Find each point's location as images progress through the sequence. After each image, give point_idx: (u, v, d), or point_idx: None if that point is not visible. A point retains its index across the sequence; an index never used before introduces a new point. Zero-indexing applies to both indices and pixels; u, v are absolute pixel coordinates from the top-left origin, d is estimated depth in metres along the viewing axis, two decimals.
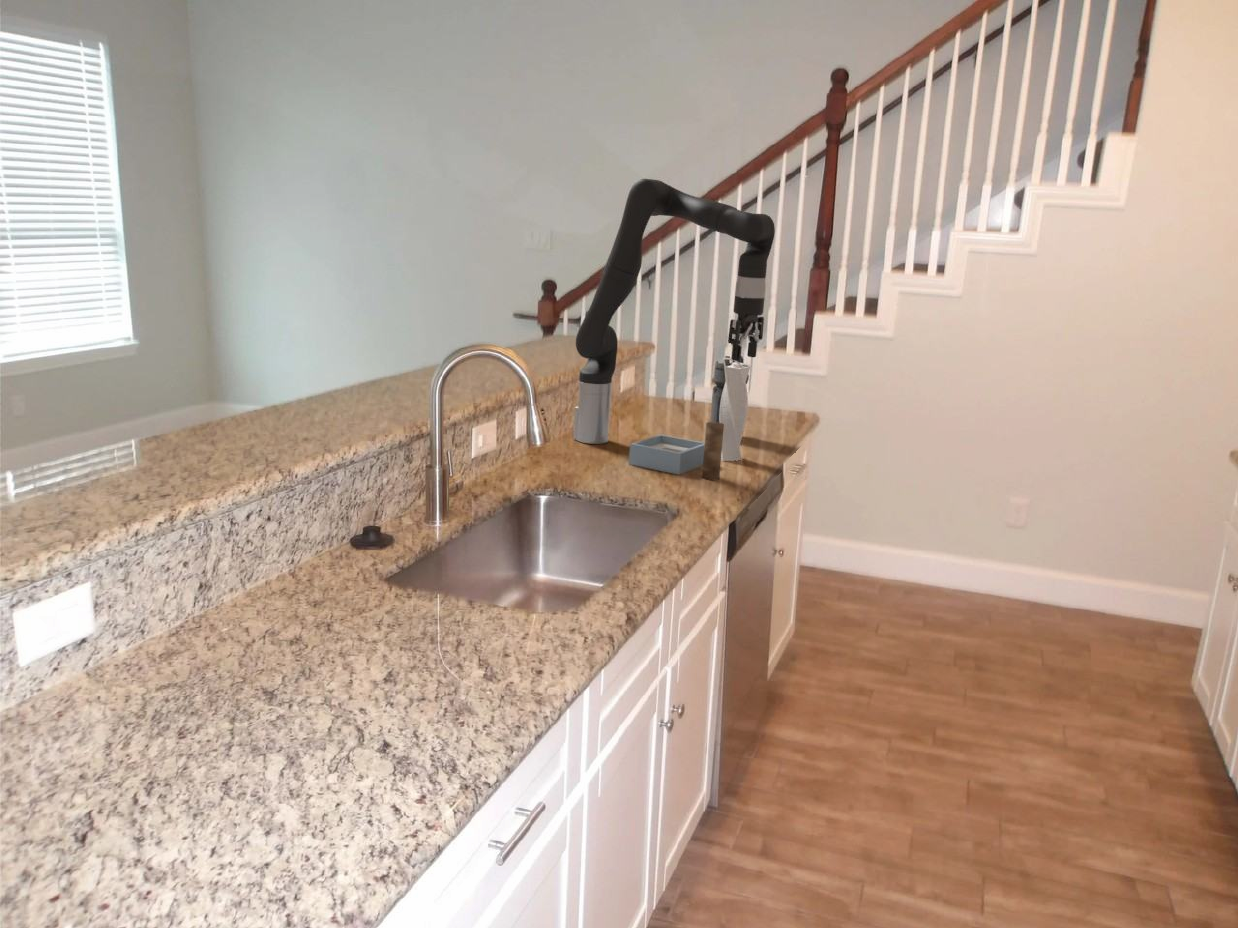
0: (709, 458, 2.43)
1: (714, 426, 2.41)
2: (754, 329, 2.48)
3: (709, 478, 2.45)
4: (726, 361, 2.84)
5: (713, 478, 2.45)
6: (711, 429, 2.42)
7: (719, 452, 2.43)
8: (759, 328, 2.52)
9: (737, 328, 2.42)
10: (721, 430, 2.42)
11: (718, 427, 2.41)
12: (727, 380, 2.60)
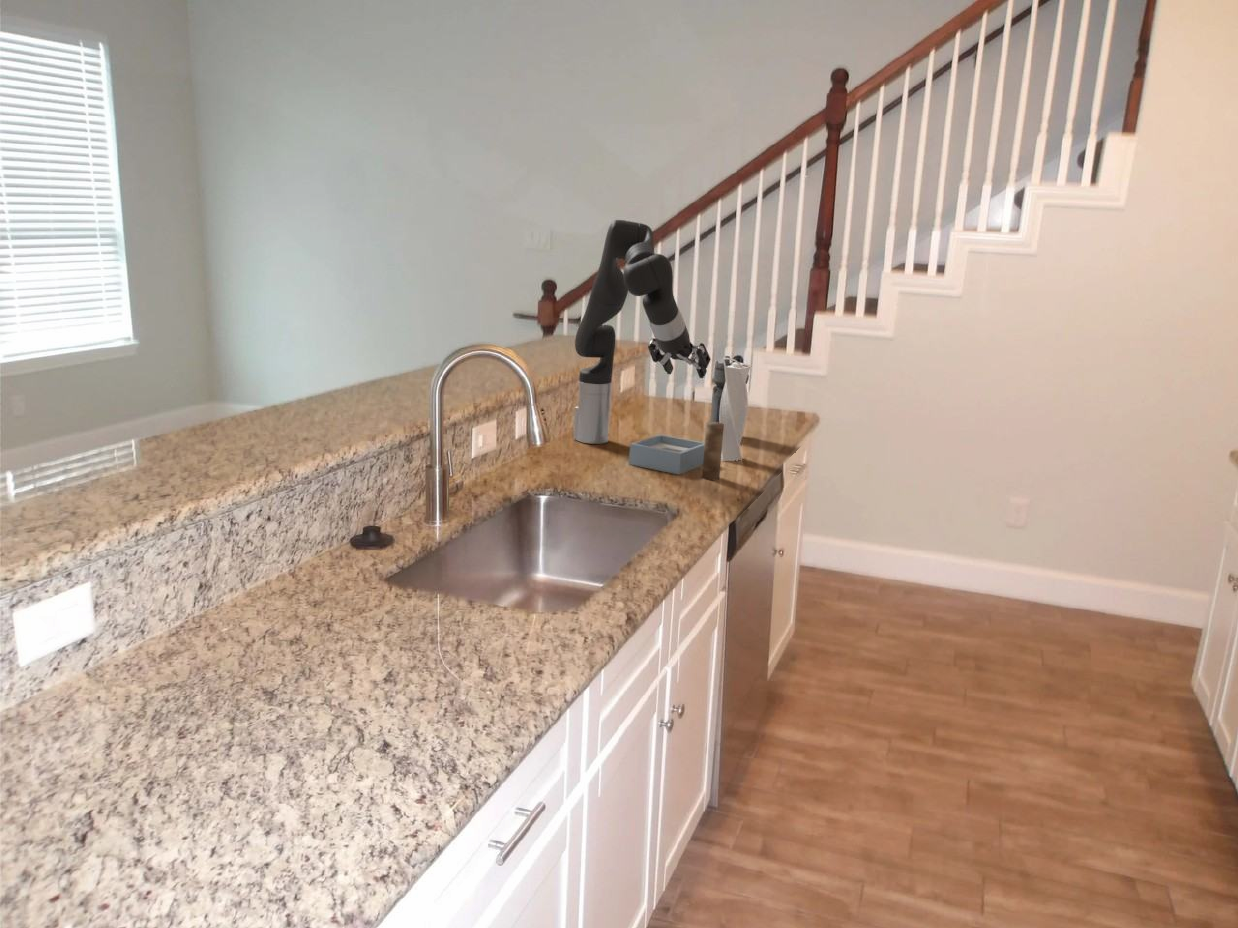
0: (709, 458, 2.43)
1: (714, 426, 2.41)
2: None
3: (709, 478, 2.45)
4: (726, 361, 2.85)
5: (713, 478, 2.45)
6: (711, 429, 2.42)
7: (719, 452, 2.43)
8: None
9: None
10: (721, 430, 2.42)
11: (718, 427, 2.41)
12: (727, 380, 2.60)
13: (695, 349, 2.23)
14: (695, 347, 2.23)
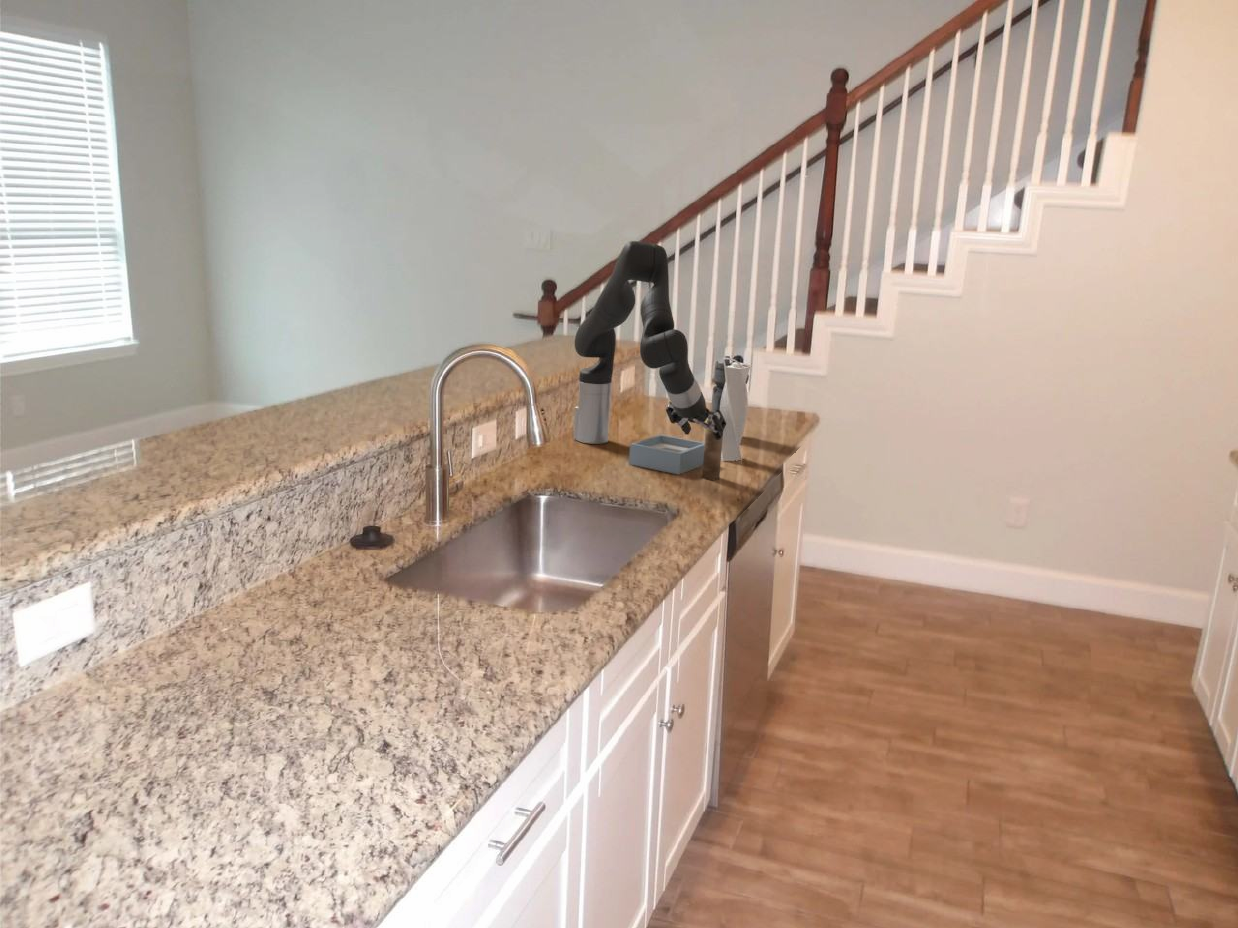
0: (709, 458, 2.43)
1: None
2: None
3: (709, 478, 2.45)
4: (726, 361, 2.85)
5: (713, 478, 2.45)
6: None
7: (719, 452, 2.43)
8: None
9: None
10: None
11: None
12: (727, 380, 2.60)
13: (711, 415, 2.29)
14: (711, 413, 2.29)
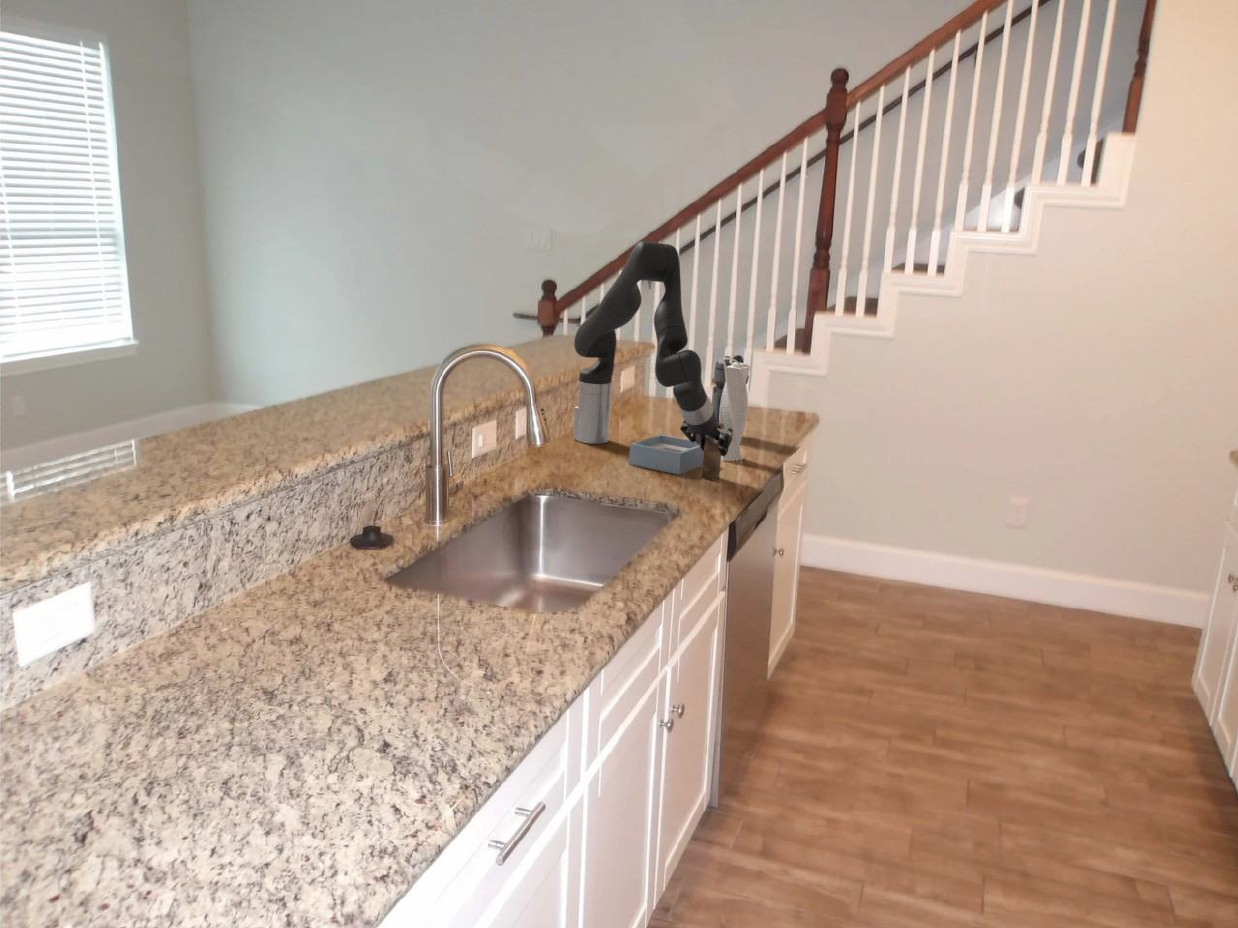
0: (709, 458, 2.43)
1: None
2: None
3: (709, 478, 2.45)
4: (726, 361, 2.84)
5: (713, 478, 2.45)
6: None
7: (719, 452, 2.44)
8: None
9: None
10: None
11: None
12: (727, 380, 2.60)
13: (723, 433, 2.36)
14: (724, 431, 2.36)
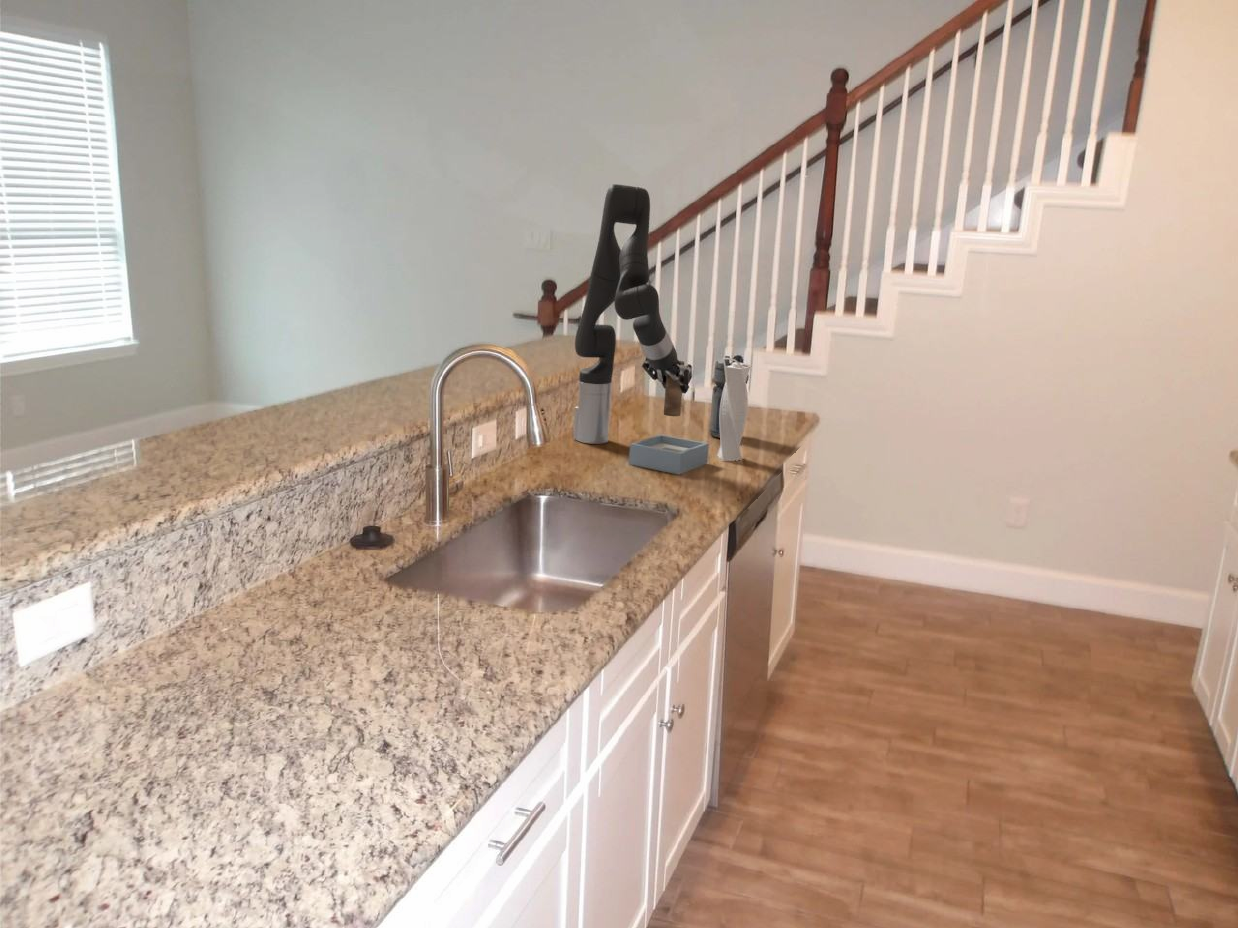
0: (670, 395, 2.52)
1: None
2: None
3: (670, 414, 2.53)
4: (726, 361, 2.85)
5: (674, 414, 2.53)
6: None
7: (680, 389, 2.52)
8: None
9: None
10: None
11: None
12: (727, 380, 2.60)
13: (683, 369, 2.45)
14: (683, 367, 2.45)
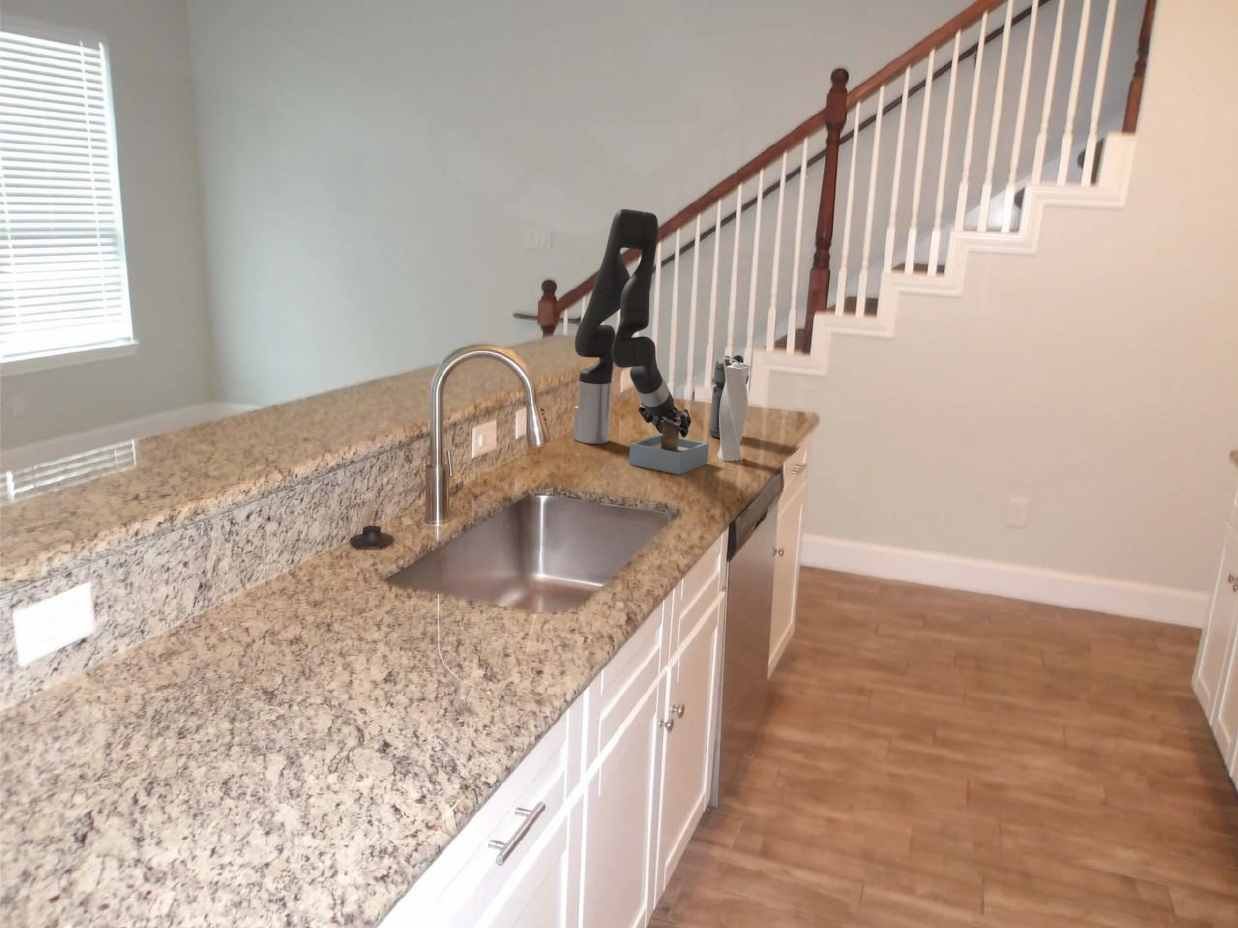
0: (666, 445, 2.55)
1: None
2: None
3: None
4: (726, 361, 2.85)
5: None
6: None
7: (676, 439, 2.55)
8: None
9: None
10: None
11: None
12: (727, 380, 2.60)
13: (679, 414, 2.47)
14: (679, 412, 2.47)
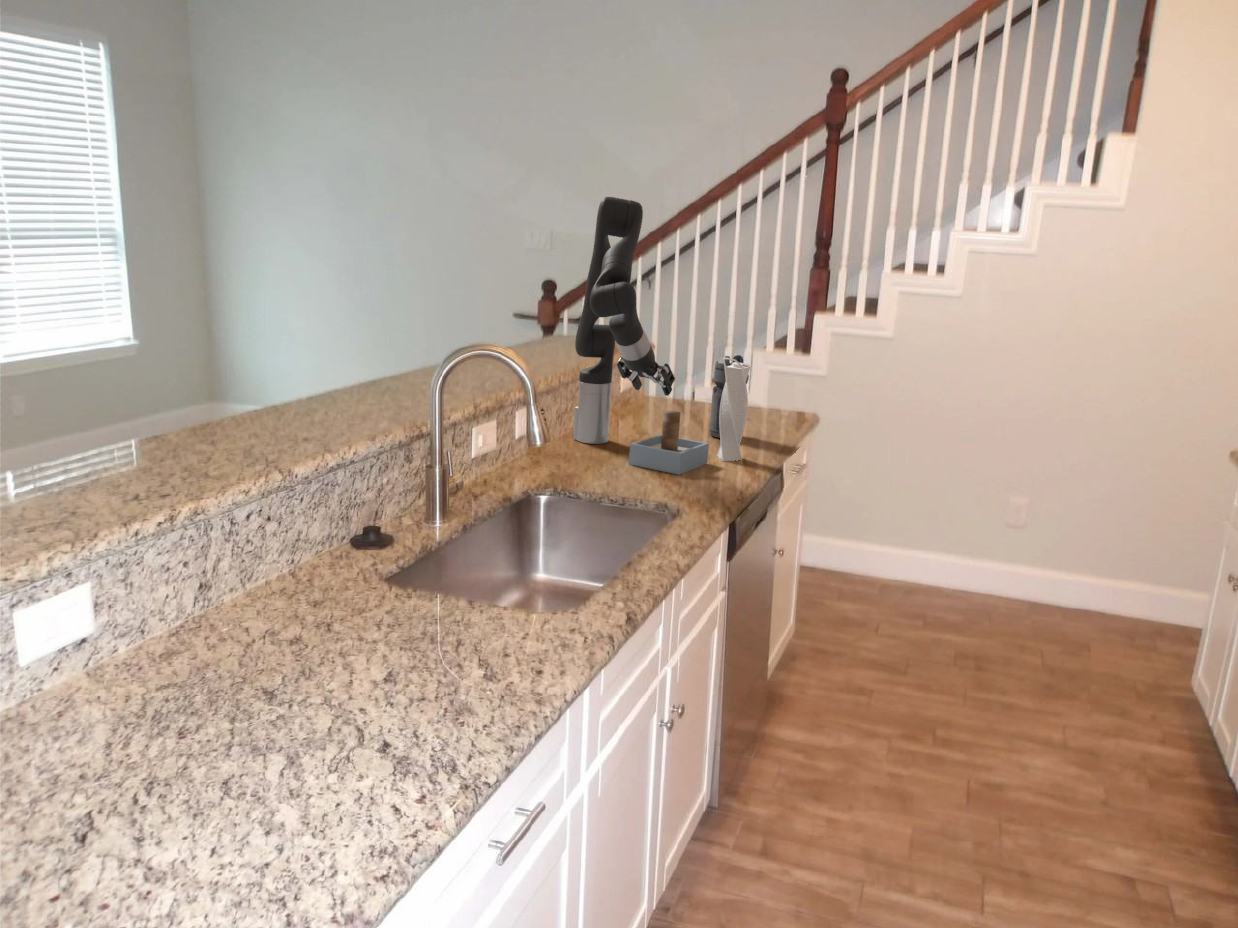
0: (666, 445, 2.55)
1: (671, 414, 2.53)
2: None
3: None
4: (726, 361, 2.84)
5: None
6: (668, 417, 2.53)
7: (676, 439, 2.55)
8: None
9: None
10: (677, 418, 2.54)
11: (674, 415, 2.53)
12: (727, 380, 2.60)
13: (660, 369, 2.35)
14: (660, 367, 2.35)
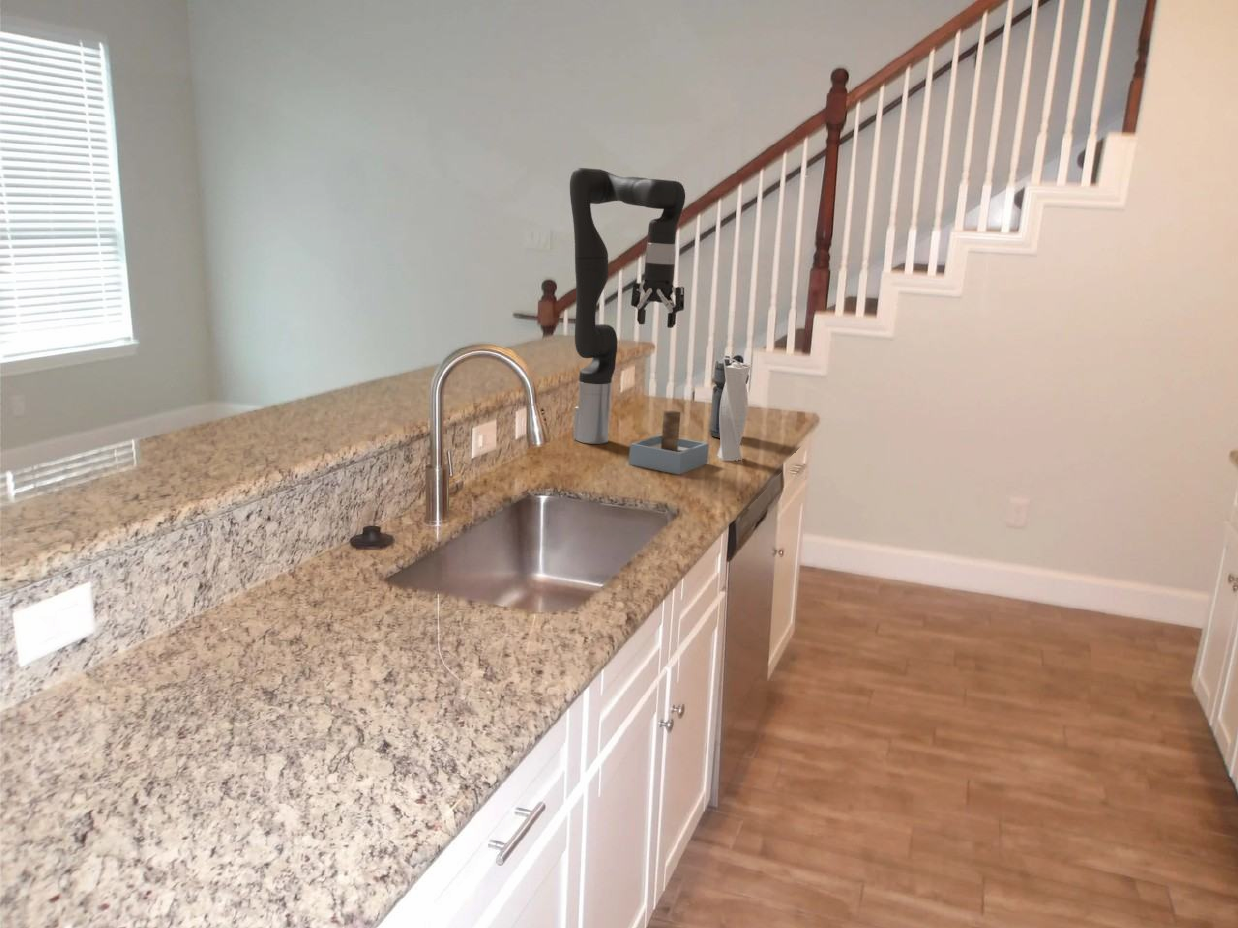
0: (666, 445, 2.55)
1: (671, 414, 2.53)
2: None
3: None
4: (726, 361, 2.84)
5: None
6: (668, 417, 2.53)
7: (676, 439, 2.55)
8: None
9: None
10: (677, 418, 2.54)
11: (674, 415, 2.53)
12: (727, 380, 2.60)
13: (675, 288, 2.45)
14: (676, 287, 2.45)
